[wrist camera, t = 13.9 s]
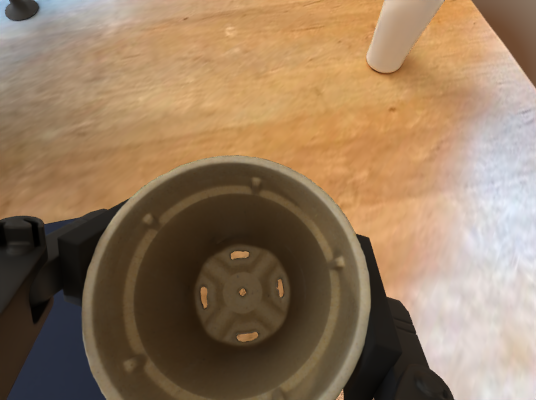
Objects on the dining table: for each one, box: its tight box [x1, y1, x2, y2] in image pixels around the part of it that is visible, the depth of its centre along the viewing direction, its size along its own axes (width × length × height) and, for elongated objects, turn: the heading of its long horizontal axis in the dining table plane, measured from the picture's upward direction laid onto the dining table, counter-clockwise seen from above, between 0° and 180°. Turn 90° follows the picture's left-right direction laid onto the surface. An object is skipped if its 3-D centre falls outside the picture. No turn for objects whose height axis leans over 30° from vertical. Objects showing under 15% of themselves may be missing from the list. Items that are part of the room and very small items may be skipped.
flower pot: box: [81, 155, 371, 400], centre depth 13 cm, size 9×9×9 cm
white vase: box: [366, 0, 445, 73], centre depth 34 cm, size 7×7×15 cm
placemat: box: [6, 218, 106, 400], centre depth 27 cm, size 20×20×1 cm
